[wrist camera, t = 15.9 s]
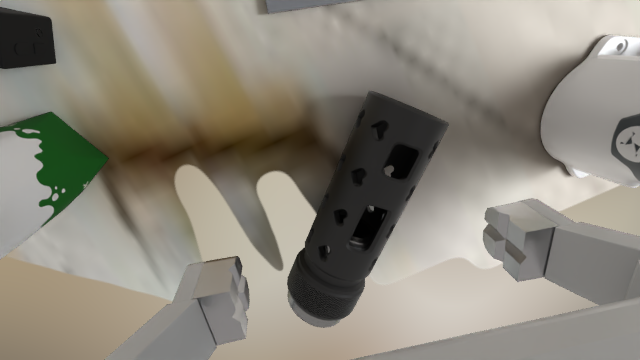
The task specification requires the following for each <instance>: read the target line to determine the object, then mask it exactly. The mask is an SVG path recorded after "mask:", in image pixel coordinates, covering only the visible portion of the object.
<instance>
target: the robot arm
mask: <svg viewBox="0 0 640 360" xmlns="http://www.w3.org/2000/svg"><path fill="white" fill-rule="evenodd" d="M616 47H617V48H616ZM541 139H542V143H543V145H544V147H545V149H546V151H547V152H548V153H549V154H550V155H551V156H552V157H553V158H555V159H557V160H559V161H560V162H562V163H563V164H565V166H566V168H567V170H568V172H569V173H570V174H571V175H572V176H575V177H578V178H582V177H586V176H588V175H594V176H597V177H599V178H602V179H605V180H608V181H611V182H614V183H617V184H620V185H623V186H627V187H631V188H636V187H637V186H640V37H632V36H618V35H607V36H605V37H603V38H602V39H601V40H600V41H599V42H598V43H597V44H596V46H595V47H594V48H593V50H592V51H591V53H590V54H589V56H588V57H587V58H586V59H585V60H584V61H583V62H582V63H581V64H580V65H579V66H577V67H576V68H575V69H574V70H572V71H571V72H570V73H569V74H568V75H567V76H566V77H565V78H564V79H563V80H562V81H561V82H560V83H559V85H558V86H557V87H556V89H555V90H554V92H553V93H552V95H551V96H550V98H549V100H548V102H547V104H546V107H545V109H544V112H543V116H542V120H541ZM485 220H486V222H487V223H488V225H487V226H486V228H485V229H484V230H483V241H484V245H485V248H486V249H487V251H488V253H489V254H490V255H491V256H492V257H493V258H495V259H497V260H500V261H502V262H503V268H504V269H505V270H506V271H507V272H508V273H509V274H510V275H511V276H512V277H513V278H514V279H515V280H516V281H517V282H519V281H525V280H530V279H536V278H541V277H545V279H547V280H549V281H551V282H553V283H555V284H557V285H559V286H561V287H563V288H565V289H567V290H570V291H571V292H573V293H575V294H577V295H579V296H581V297H584V298H586V299H588V300H590V301H592V302H594V303H596V304H598V305H600V306H595V307H591V308H586V309H582V310H578V311H573V312H568V313H564V314H559V315H554V316H550V317H545V318H540V319H536V320H531V321H526V322H522V323H517V324H512V325H508V326H503V327H498V328H494V329H489V330H484V331H480V332H475V333H470V334H466V335H462V336H457V337H452V338H448V339H443V340H439V341H434V342H429V343H425V344H420V345H415V346H411V347H406V348H402V349H397V350H392V351H388V352H383V353H379V354H374V355H370V356H365V357H360V358H356V359H351V360H640V236H637V235H633V234H628V233H624V232H620V231H616V230H612V229H608V228H604V227H600V226H596V225H591V224H587V223H583V222H579V223H576V222H574V221H572V220H571V219H569V218H567V217H566V216H564V215H563V214H561V213H559V212H558V211H556V210H554V209H553V208H551V207H549V206H548V205H546V204H544V203H543V202H541V201H539V200H538V199H533V198H531V199H527V200H522V201H518V202H515V203H510V204H505V205H500V206H496V207H491V208H487V210H486V212H485ZM241 272H242V264H241V261H240V258H239V257H238V256H235V257H228V258H222V259H217V260H211V261H206V262H200V263H194V264H190V265H188V266H187V267H186V270H185V272H184V275H183V277H182V280H181V282H180V285H179V287H178V290H177V292H176V295H175V297H174V300H173V302H172V304H167V305H166V306H165V307H164V308H163V309H161V310H160V311H159V312H158V313H157V314H156V315H155V316H153V317H152V318H151V319H150V320H149V321H148V322H147V323H145V324H144V325H143V326H142V327H141V328H140V329H139V330H137V332H135V333H134V334H133V335H132V336H131V337H129V338H128V339H127V340H126V341H125V342H124V343H123V344H122V345H120V346H119V347H118V348H117V349H116V350H115V351H114V352H112V353H111V354H110V355H109V356H108V357H107V358H106V359H104V360H208V359H209V358H210V356H211V355H212V353H213V352H214V350H215V349H216V345H221V344H224V343H229V342H233V341H237V340H242V339H245V338H246V330H247V321H248V319H247V316H246V313H245V311H247V309H248V308H249V289H248V284H247V280H246V278H245V277H244V276H243V275H241Z"/></svg>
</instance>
